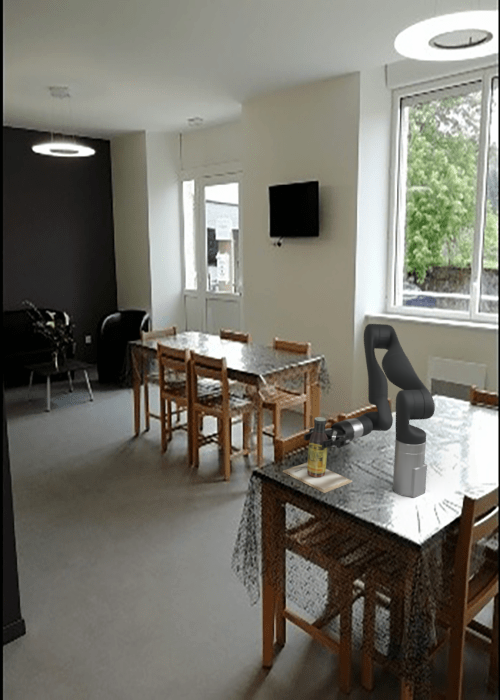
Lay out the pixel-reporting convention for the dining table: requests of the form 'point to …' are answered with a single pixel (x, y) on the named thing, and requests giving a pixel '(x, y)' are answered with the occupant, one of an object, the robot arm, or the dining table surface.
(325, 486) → the notepad
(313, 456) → the sauce bottle
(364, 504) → the dining table surface
